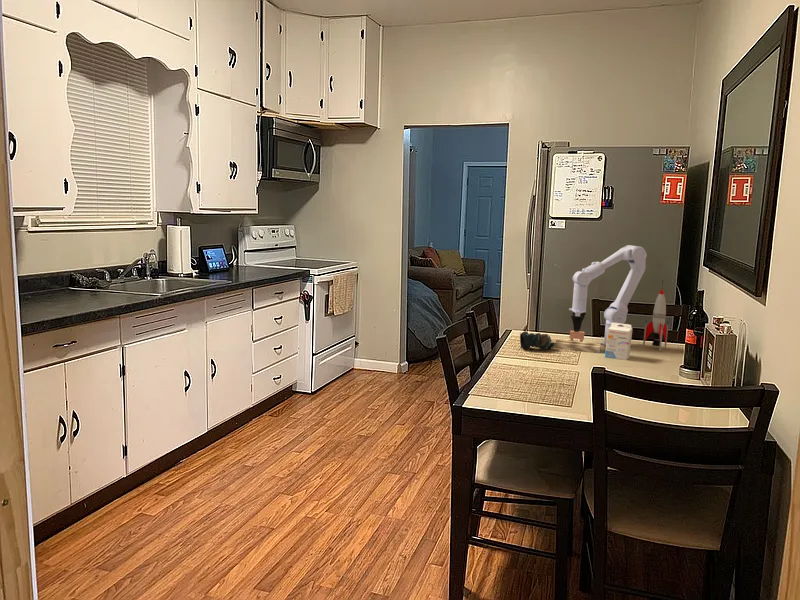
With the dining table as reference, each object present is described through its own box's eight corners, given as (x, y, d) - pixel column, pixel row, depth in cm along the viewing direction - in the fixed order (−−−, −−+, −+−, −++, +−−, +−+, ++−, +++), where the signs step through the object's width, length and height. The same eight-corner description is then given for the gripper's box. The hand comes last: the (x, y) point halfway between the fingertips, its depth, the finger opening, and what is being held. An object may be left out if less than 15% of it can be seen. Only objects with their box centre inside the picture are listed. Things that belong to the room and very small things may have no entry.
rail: (599, 349, 258) (600, 343, 258) (599, 353, 251) (599, 347, 251) (551, 344, 264) (551, 338, 264) (549, 347, 258) (550, 342, 258)
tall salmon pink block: (583, 344, 267) (584, 331, 266) (583, 345, 265) (584, 332, 265) (569, 342, 269) (570, 330, 268) (569, 343, 267) (569, 331, 266)
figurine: (516, 332, 259) (551, 329, 258) (517, 352, 258) (553, 349, 257) (518, 331, 250) (555, 328, 250) (521, 351, 249) (558, 348, 249)
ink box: (604, 357, 245) (607, 324, 243) (608, 352, 253) (610, 321, 250) (627, 360, 241) (630, 326, 239) (630, 355, 249) (633, 323, 247)
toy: (665, 347, 266) (672, 279, 261) (671, 352, 258) (679, 281, 253) (642, 346, 267) (648, 278, 262) (648, 350, 258) (655, 280, 254)
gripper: (571, 296, 272) (568, 326, 274) (568, 300, 259) (566, 332, 261) (587, 297, 270) (585, 327, 272) (586, 302, 256) (583, 333, 259)
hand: (577, 330), depth 266 cm, fingers open, 7 cm apart
